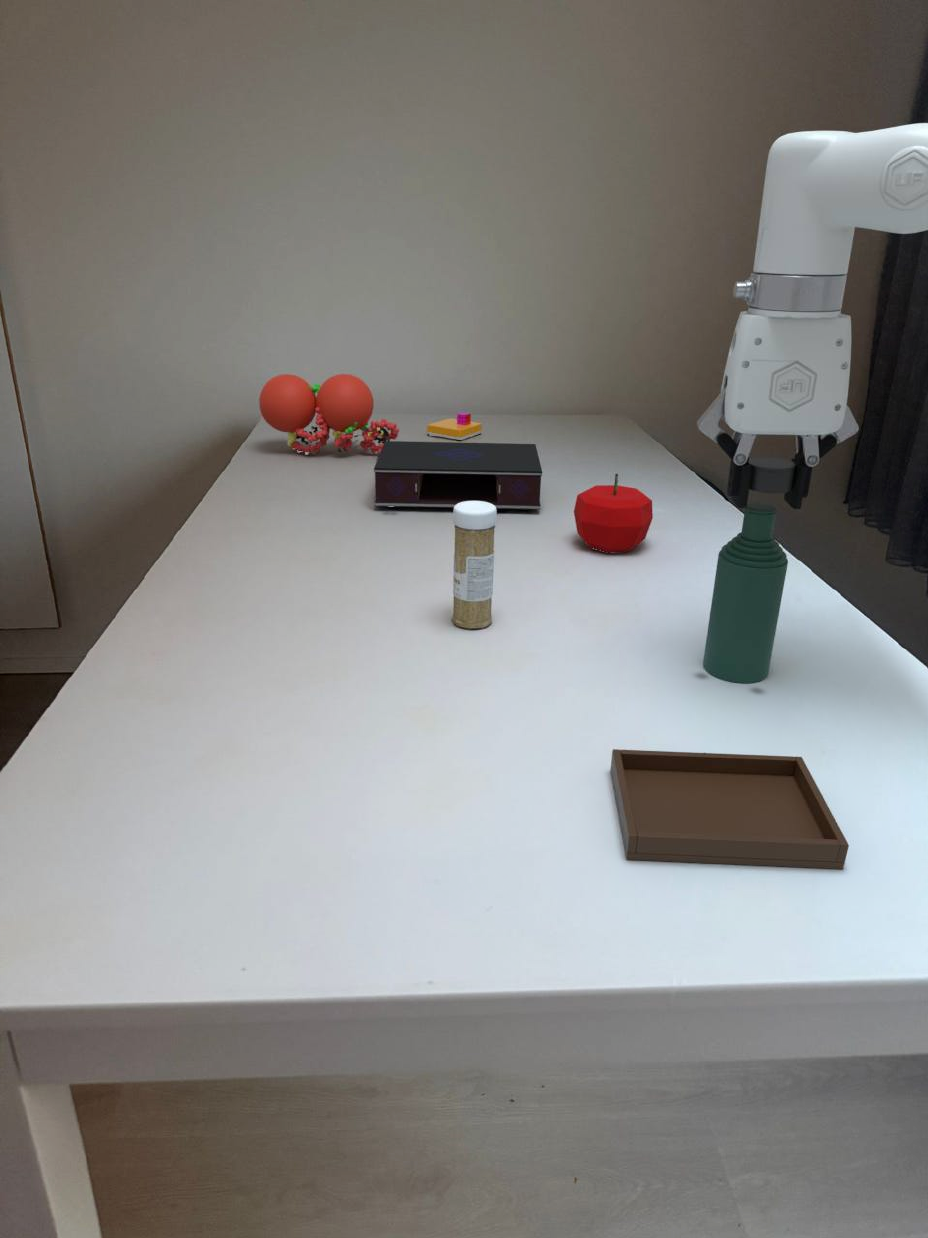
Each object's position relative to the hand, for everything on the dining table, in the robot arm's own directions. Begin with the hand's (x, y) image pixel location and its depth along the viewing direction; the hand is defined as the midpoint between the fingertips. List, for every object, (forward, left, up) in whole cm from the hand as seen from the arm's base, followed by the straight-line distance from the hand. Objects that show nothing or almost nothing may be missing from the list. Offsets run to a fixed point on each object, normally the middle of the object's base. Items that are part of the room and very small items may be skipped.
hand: (765, 502), depth 84 cm
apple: (+9, -36, -18) cm, 41 cm away
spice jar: (+27, -9, -18) cm, 34 cm away
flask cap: (0, 0, +3) cm, 3 cm away
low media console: (+31, -57, -18) cm, 68 cm away
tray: (+7, +25, -17) cm, 31 cm away
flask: (0, 0, -17) cm, 17 cm away
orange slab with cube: (+34, -100, -18) cm, 107 cm away
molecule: (+56, -82, -18) cm, 101 cm away
